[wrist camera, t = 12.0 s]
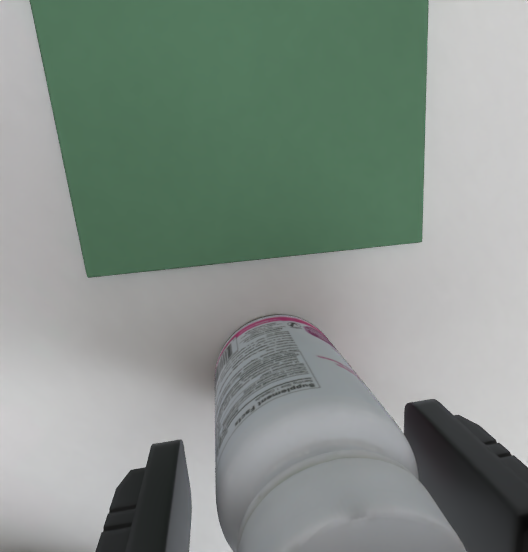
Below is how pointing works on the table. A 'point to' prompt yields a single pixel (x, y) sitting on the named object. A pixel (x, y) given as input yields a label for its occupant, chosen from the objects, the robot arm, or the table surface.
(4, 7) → the table surface
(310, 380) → the pill bottle
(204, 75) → the cloth
